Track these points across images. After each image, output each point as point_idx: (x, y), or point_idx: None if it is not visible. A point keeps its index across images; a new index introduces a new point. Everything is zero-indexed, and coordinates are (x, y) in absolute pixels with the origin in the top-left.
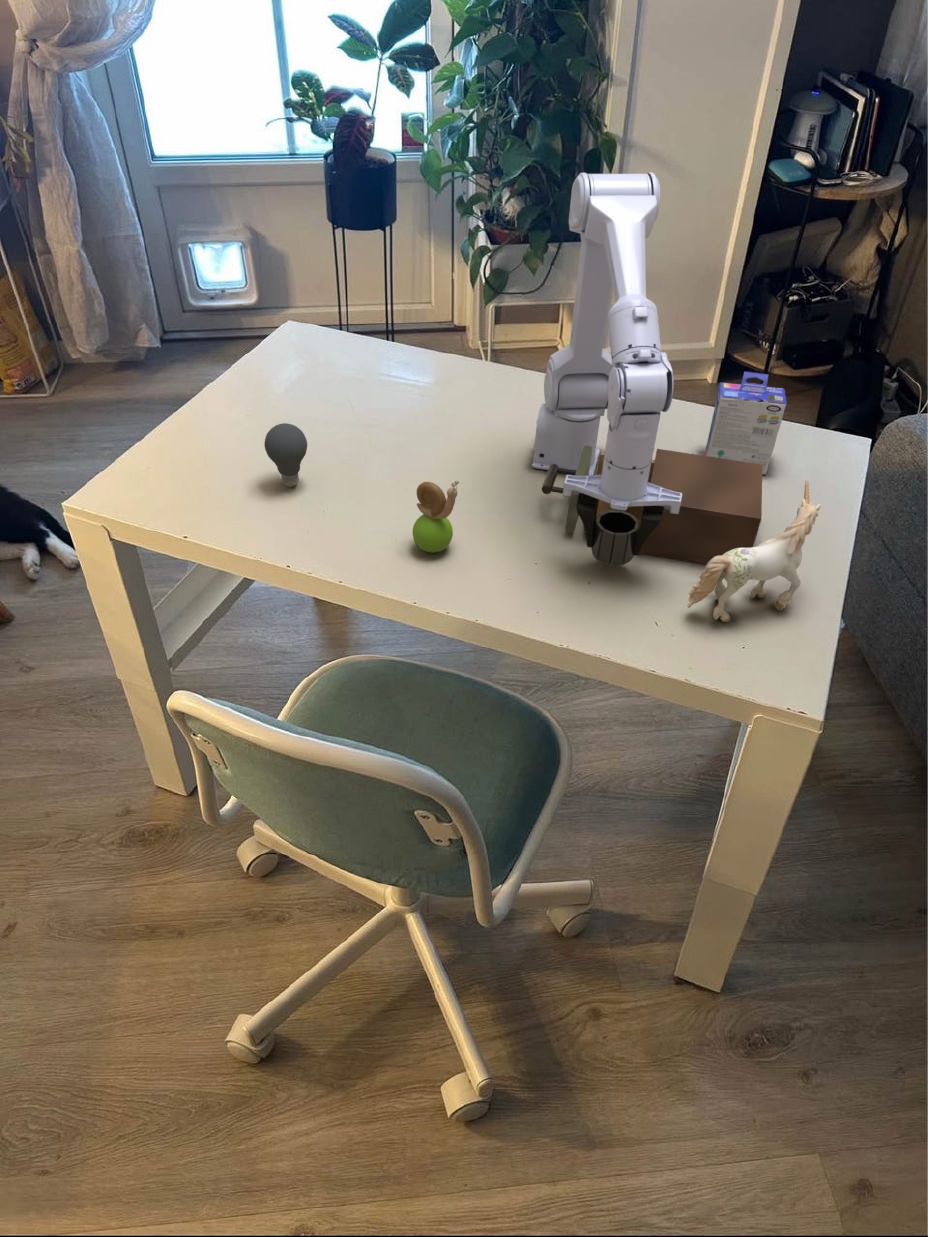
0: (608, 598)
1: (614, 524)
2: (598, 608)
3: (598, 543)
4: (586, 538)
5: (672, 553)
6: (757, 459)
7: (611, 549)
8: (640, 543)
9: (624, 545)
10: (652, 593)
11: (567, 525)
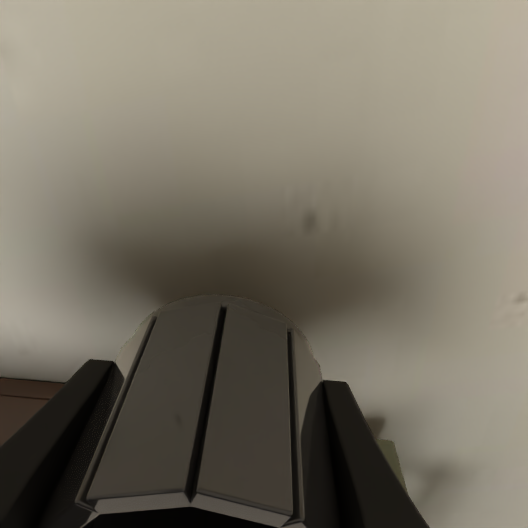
0: (218, 129)
1: (220, 517)
2: (262, 33)
3: (301, 404)
4: (369, 429)
5: (23, 397)
6: None
7: (216, 369)
8: (35, 429)
9: (130, 405)
10: (35, 199)
11: (396, 468)
